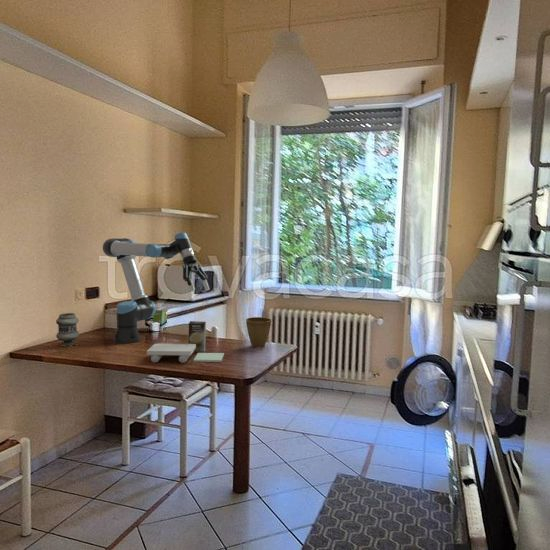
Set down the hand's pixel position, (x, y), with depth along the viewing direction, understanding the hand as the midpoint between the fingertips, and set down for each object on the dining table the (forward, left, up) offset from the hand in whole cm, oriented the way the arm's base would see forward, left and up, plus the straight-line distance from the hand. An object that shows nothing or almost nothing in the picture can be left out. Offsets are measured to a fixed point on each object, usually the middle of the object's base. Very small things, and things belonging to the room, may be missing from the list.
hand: (200, 290), depth 265 cm
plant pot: (+34, +2, -33) cm, 47 cm away
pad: (+9, -26, -33) cm, 43 cm away
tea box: (-36, +47, -33) cm, 68 cm away
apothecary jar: (-76, -1, -33) cm, 83 cm away
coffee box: (0, -10, -33) cm, 34 cm away
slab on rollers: (-10, -28, -33) cm, 44 cm away
